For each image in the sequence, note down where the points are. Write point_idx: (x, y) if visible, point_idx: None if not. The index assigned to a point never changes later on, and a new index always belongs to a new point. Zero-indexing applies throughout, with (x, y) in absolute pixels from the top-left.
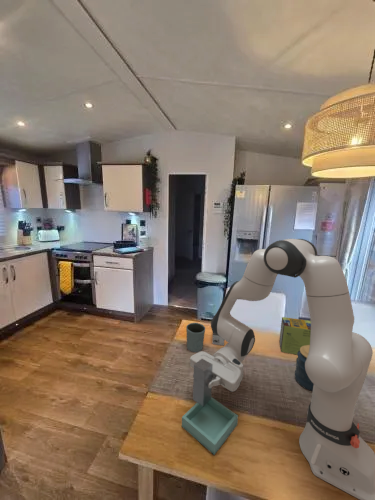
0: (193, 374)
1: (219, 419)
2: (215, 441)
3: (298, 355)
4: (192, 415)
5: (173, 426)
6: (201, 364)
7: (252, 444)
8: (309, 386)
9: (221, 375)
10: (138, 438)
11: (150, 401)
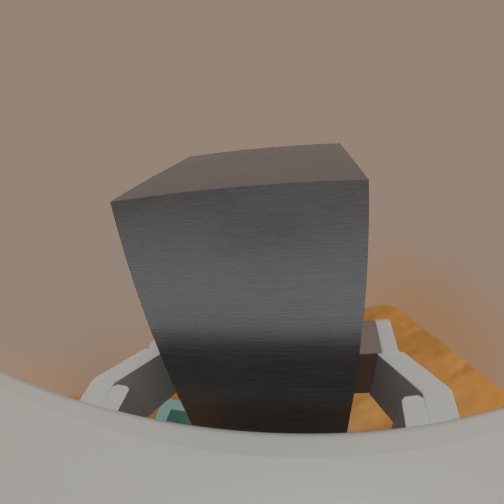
0: (382, 321)
1: None
2: (165, 408)
3: None
4: None
5: (362, 414)
6: (271, 158)
7: None
8: None
9: (53, 405)
10: (400, 330)
11: (501, 400)
